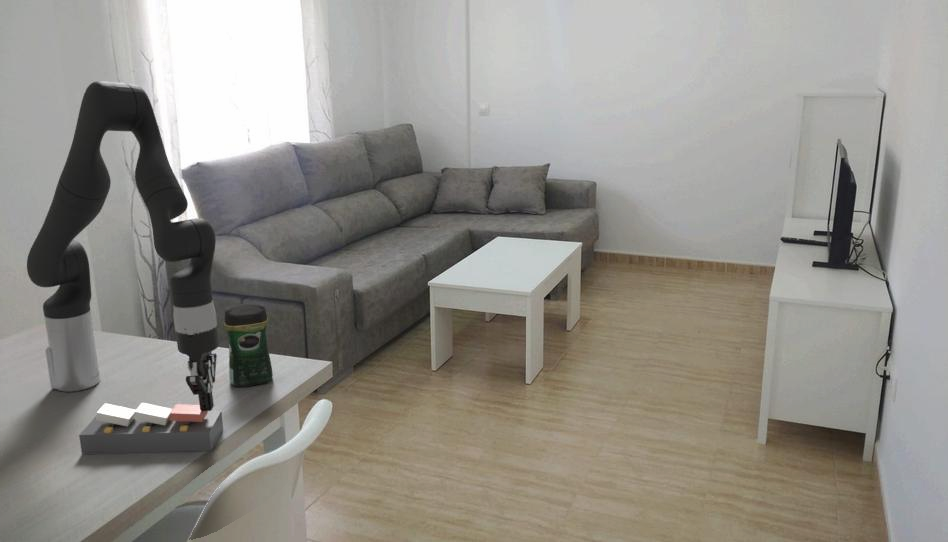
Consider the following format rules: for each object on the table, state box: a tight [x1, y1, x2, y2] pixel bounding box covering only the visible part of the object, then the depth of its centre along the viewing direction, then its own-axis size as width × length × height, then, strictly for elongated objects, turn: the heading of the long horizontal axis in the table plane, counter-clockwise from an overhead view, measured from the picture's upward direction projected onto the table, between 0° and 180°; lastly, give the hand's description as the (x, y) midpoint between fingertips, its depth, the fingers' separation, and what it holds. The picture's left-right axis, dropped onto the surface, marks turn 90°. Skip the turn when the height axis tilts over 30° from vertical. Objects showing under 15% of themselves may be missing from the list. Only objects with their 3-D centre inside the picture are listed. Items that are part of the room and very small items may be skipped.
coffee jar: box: [223, 301, 274, 388], centre depth 178 cm, size 10×8×19 cm
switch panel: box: [78, 410, 224, 455], centre depth 151 cm, size 24×9×5 cm, turn 93°
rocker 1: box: [95, 402, 136, 426], centre depth 150 cm, size 6×4×2 cm, turn 94°
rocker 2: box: [133, 402, 173, 426], centre depth 150 cm, size 6×4×2 cm, turn 94°
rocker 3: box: [170, 403, 208, 422], centre depth 151 cm, size 6×4×2 cm, turn 94°
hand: (207, 409), depth 151 cm, fingers closed
